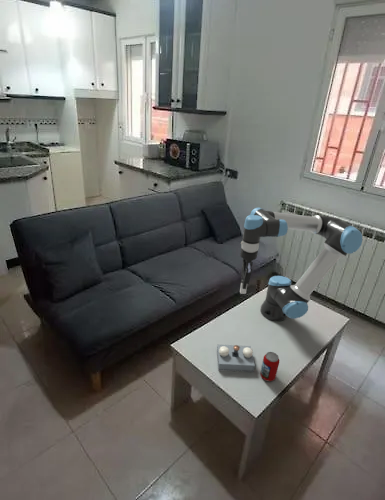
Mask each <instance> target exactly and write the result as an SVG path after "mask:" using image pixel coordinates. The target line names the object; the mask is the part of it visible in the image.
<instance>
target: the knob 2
mask: <svg viewBox="0 0 385 500" xmlns="http://www.w3.org/2000/svg"><path fill="white" fill-rule="evenodd" d="M253 353H254V351H253V349H252V347H251V348H248V347H246V348H244V349H243V356H245V358H250V357H252V355H254V354H253Z"/></svg>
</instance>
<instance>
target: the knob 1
mask: <svg viewBox="0 0 385 500" xmlns="http://www.w3.org/2000/svg"><path fill="white" fill-rule="evenodd" d="M219 354H220V355H221V356H223V357H226V356H228V354H229V349H228V348H227V347H225V346H222V347H220V349H219Z"/></svg>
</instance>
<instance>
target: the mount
mask: <svg viewBox="0 0 385 500" xmlns="http://www.w3.org/2000/svg"><path fill="white" fill-rule="evenodd" d="M234 345H235V344H217V345H216V357H217V369H218V371H225V372H248V373H253V372H255V367H256V365H255V361H254V356H253V355H254V354H252V357H250V358H245V356H243V349H244V348H246V347H248V348H251V349H252V346H251V345H240V344H239V345H238V346H239V347H240V349H239V350H238V354H237V355H234V349H233V347H234ZM222 346H225V347H227V348H228V349H229V354H228V356H226V357H223V356H221V355H220V354H219V349H220V347H222Z"/></svg>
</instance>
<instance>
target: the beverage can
mask: <svg viewBox="0 0 385 500" xmlns="http://www.w3.org/2000/svg"><path fill="white" fill-rule="evenodd" d="M279 365H280V358H279V355H278V354H277V353H275V352H273V351H268V352H266V353H265V354H264V355H263V359H262V364H261V369H260V377H261V378H262V379H263V380H265V381H268V382H273V381H275V380H276V378H277V373H278V370H279Z"/></svg>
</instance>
